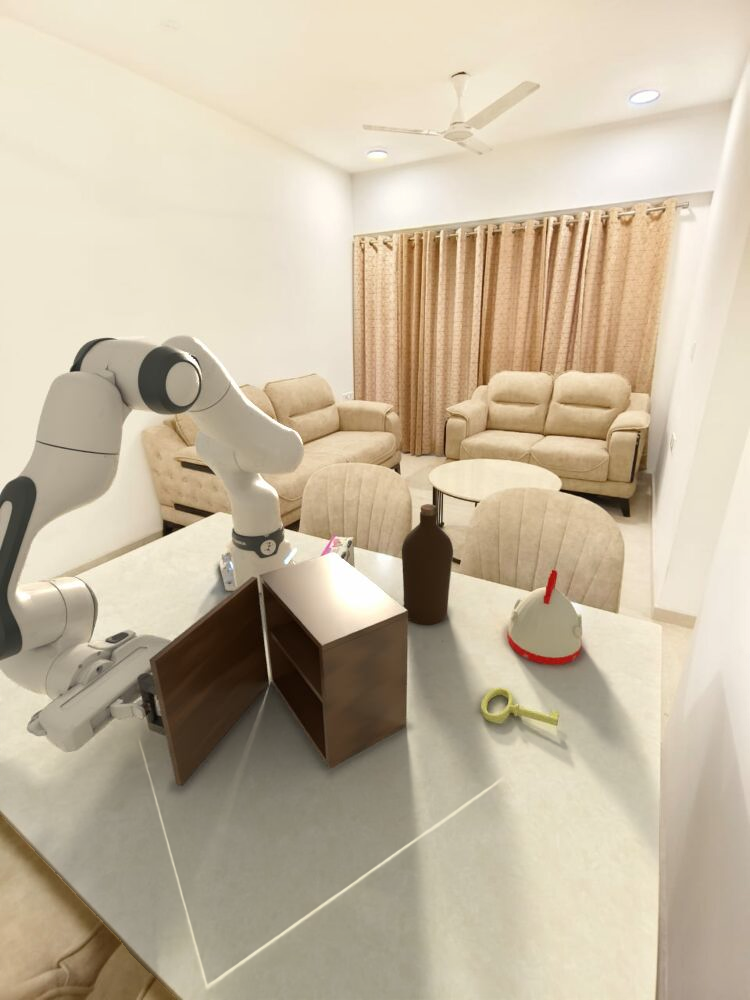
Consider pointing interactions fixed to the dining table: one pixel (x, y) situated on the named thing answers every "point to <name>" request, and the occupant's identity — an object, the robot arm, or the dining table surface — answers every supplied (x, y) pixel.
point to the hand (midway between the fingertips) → (156, 702)
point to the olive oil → (427, 569)
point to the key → (514, 709)
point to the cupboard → (336, 654)
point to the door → (207, 678)
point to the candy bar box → (341, 548)
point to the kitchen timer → (546, 626)
